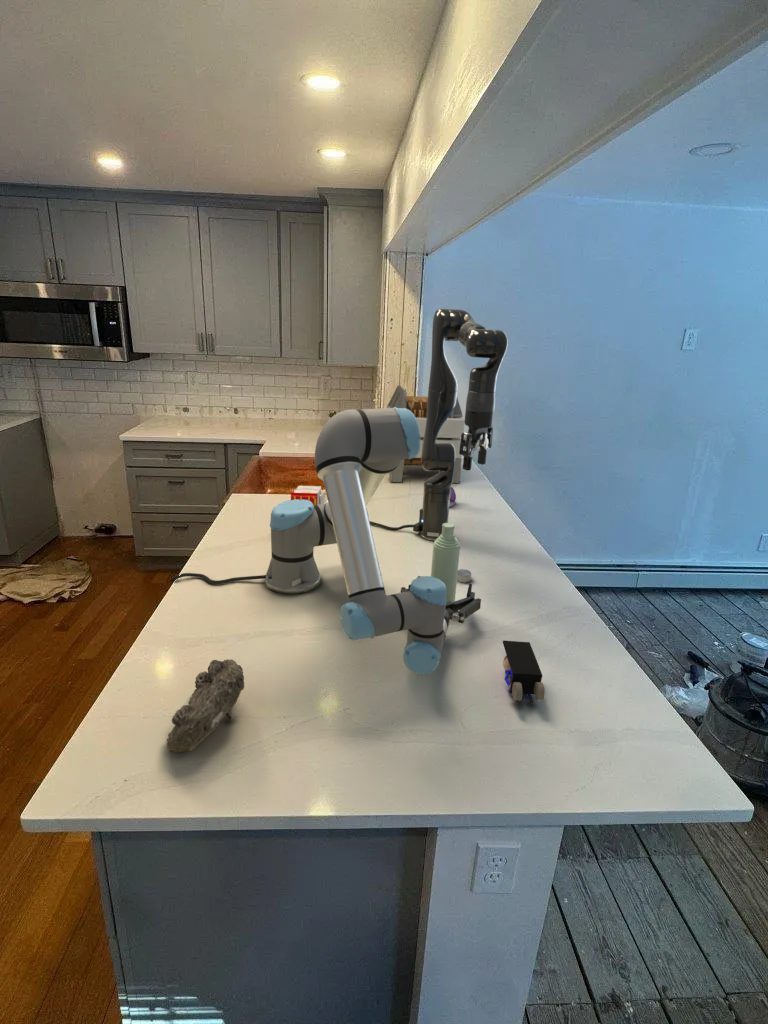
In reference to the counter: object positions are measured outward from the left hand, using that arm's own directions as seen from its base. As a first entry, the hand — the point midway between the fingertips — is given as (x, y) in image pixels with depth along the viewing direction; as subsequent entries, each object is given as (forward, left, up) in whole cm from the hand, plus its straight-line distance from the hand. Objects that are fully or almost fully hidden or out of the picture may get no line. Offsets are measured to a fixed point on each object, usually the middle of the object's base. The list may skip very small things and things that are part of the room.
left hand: (444, 584), depth 150 cm
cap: (+3, +18, -5) cm, 19 cm away
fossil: (-36, -57, -7) cm, 67 cm away
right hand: (+3, +18, +28) cm, 33 cm away
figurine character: (+21, -30, -7) cm, 37 cm away
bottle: (0, +1, -7) cm, 7 cm away
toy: (-58, +50, -7) cm, 77 cm away
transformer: (-31, +127, -7) cm, 131 cm away
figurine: (-12, +85, -7) cm, 86 cm away
